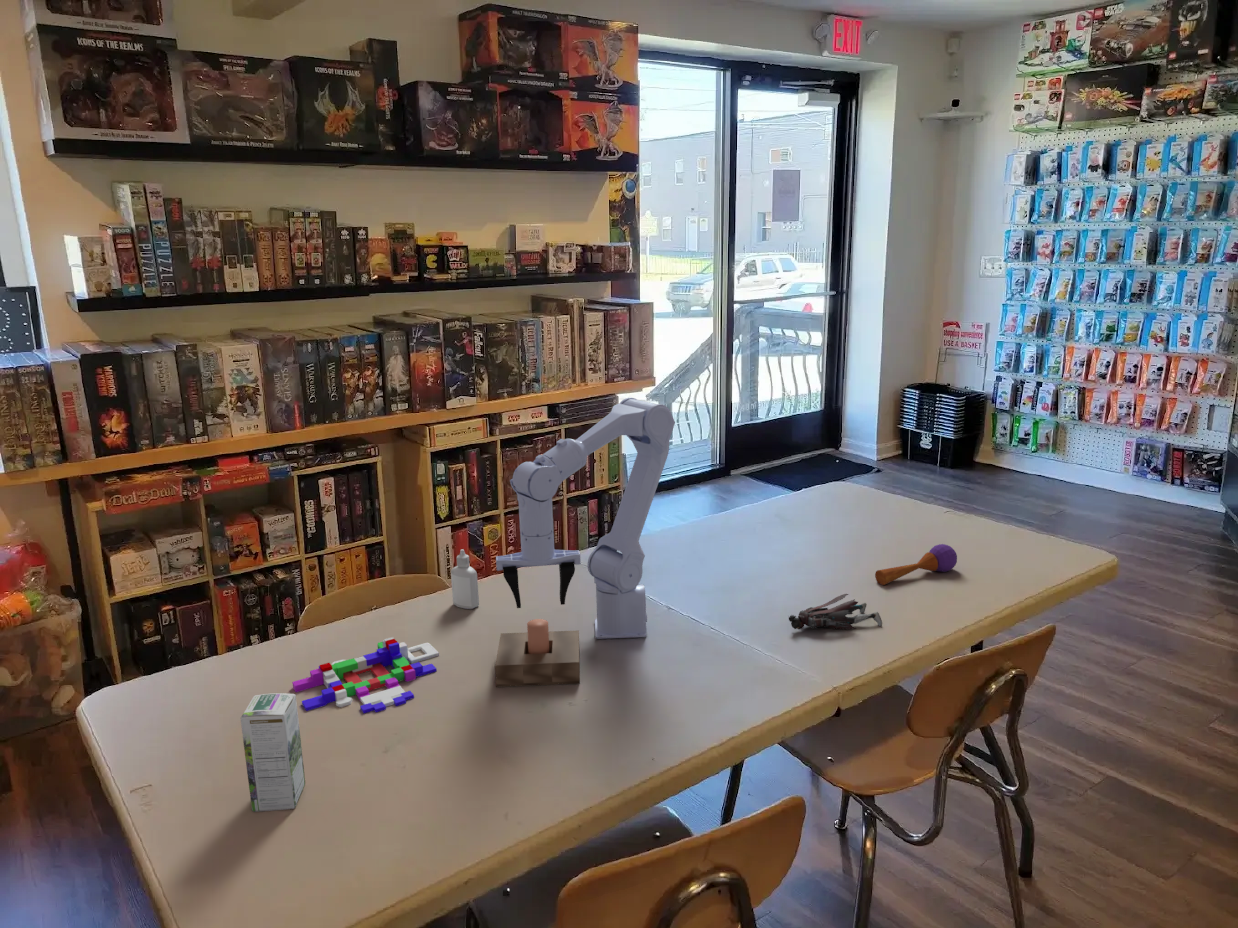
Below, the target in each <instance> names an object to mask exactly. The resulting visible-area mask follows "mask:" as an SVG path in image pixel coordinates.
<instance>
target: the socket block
mask: <svg viewBox="0 0 1238 928" xmlns="http://www.w3.org/2000/svg"><path fill="white" fill-rule="evenodd" d="M580 651H581V650H580V630H557V631H553V630H552V631H549V653H544V654H529V652H528V631H526V632H507V633H506V632H505V633H500V636H499V641H498V645H497V653H496V657H495V663H494V664H495V665H494V670H495V671H494V672H495V687H496V688H503V687H504V688H506V687H510V688H511V687H529V686H532V687H533V686H551V685H552V686H555V685H559V686H560V685H577V684H578V685H579V684H581V677H580V676H581V675H580V674H581V673H580V672H581V671H580V669H581V667H580V665H581V663H580V661H581V660H580V659H581V658H580Z"/></svg>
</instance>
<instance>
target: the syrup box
mask: <svg viewBox="0 0 1238 928" xmlns="http://www.w3.org/2000/svg"><path fill="white" fill-rule="evenodd" d="M299 722H300V721H299V714H298V704H297V695H296V694H294V693H285V692H284V693H283V692H282V693H281V692H279V693H278V692H277V693H276V692H275V693H263V694H262V693H261V694H256V695H253V696H252V699H250V702H249V703H248V705H247V707H246V709H245V710H244V712H243V713H242V715H241V717H240V725H241V734H242V742H243V748H244V750H243V751H244V756H245V757H244V758H245V764H246V765H245V766H246V773H247V774H246V775H247V780H248V788H249V789H248V790H249V795H250V804H251V811H252V812H253V813H258V812H269V811H270V812H271V811H272V812H273V811H282V810H283V811H285V810H295V809H296V807H297V805H298V802H299V801H300V799H301V795H302V792H303V791H304V788H305V786H306V777H305V768H304V767H305V766H304V759H303V757H304V755H303V748H302V738H301V731H300V723H299Z"/></svg>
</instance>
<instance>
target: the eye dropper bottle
mask: <svg viewBox="0 0 1238 928" xmlns="http://www.w3.org/2000/svg"><path fill="white" fill-rule="evenodd" d="M459 551H460V552H459V554H458V555H457V556H456V566H454V567H452V568H451V570H450V579H451V582H450V583H451V593H452V604H453V605H454V606H455V607H458V608H460V609H466V610H473V609H476V608H477V607H478V606H479V605H480V599H479V595H480V594H479V583H478V573H477V570H475V568H473V567H472V566H470V556H469V555H468V554H466V552H465V550H464V548H463V549H460V550H459Z"/></svg>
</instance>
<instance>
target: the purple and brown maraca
mask: <svg viewBox="0 0 1238 928" xmlns="http://www.w3.org/2000/svg"><path fill="white" fill-rule="evenodd" d="M957 563H958V554H957V552H956V550H955V549H954V548H953V547H951V546H950V545H948V544H945V543H939V544H936V545H934V546H932V548H931V549H930V550H929V551H928V552H925V554H924V555H923V556H922V557H921V558H920V560H919V561H917V563H911V564H907V565H902V566H901V565H900V566H894V567H890V568H884V569H883V568H881V569H878V570H876V571H875V574H874V576H875V580H876V582H877V583H878V584H880V585H881V586H886V585H887V584H890V583H892V582H893V581H896V580H898V579H901V578H902V577H904V576H906V575H908V574H910V573H912V572H914V571H916V570H919V569H920V570H926V571H930V572H935V571H937V572H939V573H940V572H941V573H947V572H949V571H951V570H952V569H954V568H955V566H956V565H957Z"/></svg>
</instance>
